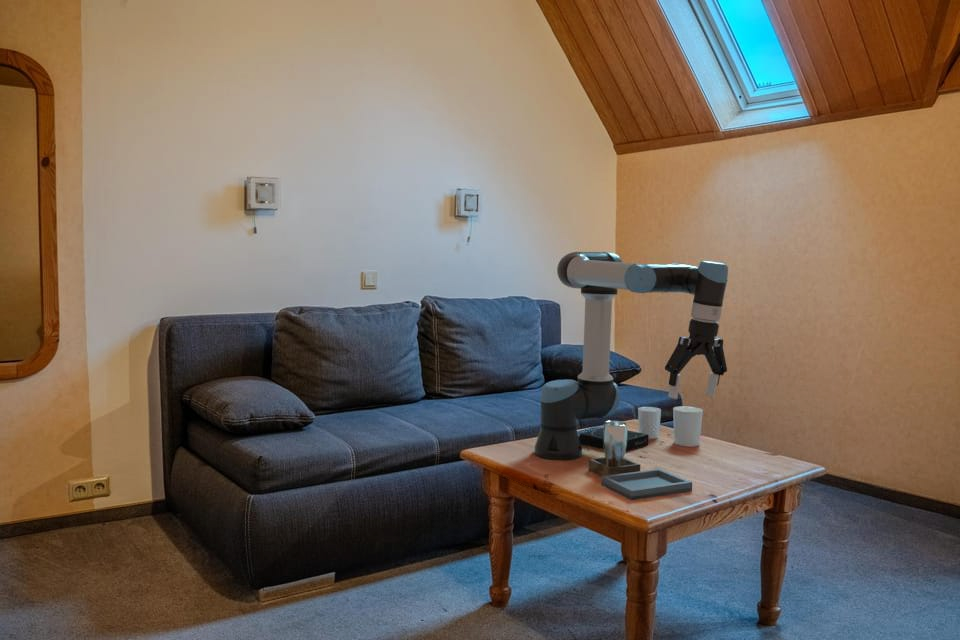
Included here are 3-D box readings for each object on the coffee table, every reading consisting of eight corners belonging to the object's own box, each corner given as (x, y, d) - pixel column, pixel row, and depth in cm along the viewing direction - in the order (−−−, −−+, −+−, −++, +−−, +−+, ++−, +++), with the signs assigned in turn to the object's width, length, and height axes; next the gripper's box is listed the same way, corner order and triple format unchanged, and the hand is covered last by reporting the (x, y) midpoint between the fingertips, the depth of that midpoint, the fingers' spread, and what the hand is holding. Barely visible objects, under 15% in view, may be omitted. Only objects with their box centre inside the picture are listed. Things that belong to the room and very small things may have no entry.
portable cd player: (606, 437, 264) (607, 426, 264) (648, 446, 252) (648, 434, 252) (577, 444, 253) (578, 433, 252) (619, 454, 241) (620, 442, 240)
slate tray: (601, 485, 206) (601, 476, 206) (659, 477, 215) (659, 468, 214) (631, 500, 194) (631, 491, 193) (691, 491, 202) (692, 482, 202)
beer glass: (597, 471, 219) (598, 421, 218) (616, 469, 222) (618, 419, 221) (611, 478, 213) (612, 426, 212) (631, 475, 216) (632, 424, 215)
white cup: (658, 434, 267) (659, 407, 266) (661, 439, 259) (662, 411, 258) (636, 433, 268) (636, 406, 267) (638, 439, 260) (639, 410, 259)
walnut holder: (588, 470, 220) (589, 459, 220) (618, 466, 225) (618, 455, 224) (609, 480, 211) (609, 468, 210) (639, 476, 215) (640, 464, 215)
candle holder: (706, 443, 255) (707, 409, 254) (693, 448, 247) (694, 413, 246) (680, 438, 261) (681, 405, 260) (666, 443, 254) (667, 409, 253)
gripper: (679, 321, 188) (665, 402, 191) (749, 324, 200) (735, 400, 203) (659, 315, 195) (646, 393, 198) (728, 319, 206) (715, 392, 210)
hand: (691, 397), depth 200 cm, fingers open, 13 cm apart
